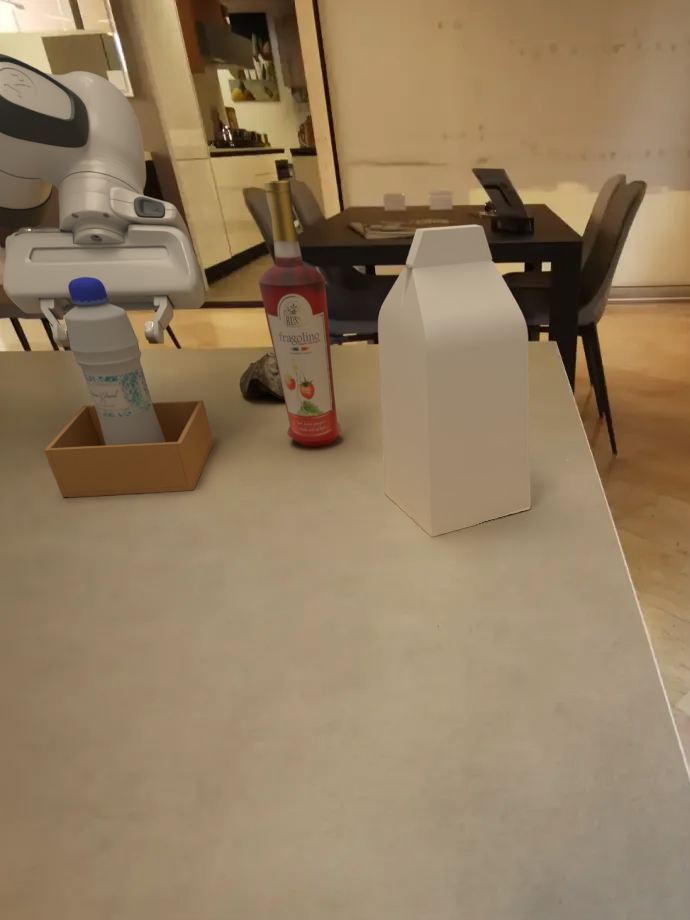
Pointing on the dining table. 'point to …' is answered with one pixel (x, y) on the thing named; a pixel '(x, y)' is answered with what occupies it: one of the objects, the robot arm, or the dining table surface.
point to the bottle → (111, 365)
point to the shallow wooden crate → (132, 454)
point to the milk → (454, 385)
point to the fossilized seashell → (262, 378)
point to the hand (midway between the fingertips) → (109, 342)
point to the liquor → (299, 328)
